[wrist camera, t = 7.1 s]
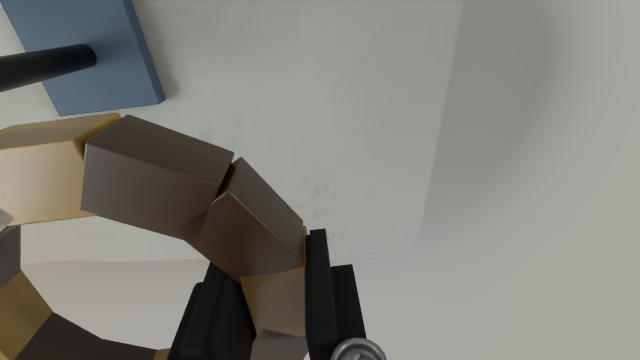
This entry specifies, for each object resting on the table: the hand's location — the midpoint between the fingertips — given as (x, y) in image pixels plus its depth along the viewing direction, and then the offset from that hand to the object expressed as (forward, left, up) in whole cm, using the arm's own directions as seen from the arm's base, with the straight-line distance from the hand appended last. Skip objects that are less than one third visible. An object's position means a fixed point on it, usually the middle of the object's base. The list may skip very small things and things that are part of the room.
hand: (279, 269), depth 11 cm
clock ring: (-5, 0, 0) cm, 5 cm away
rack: (-14, +7, -18) cm, 24 cm away
